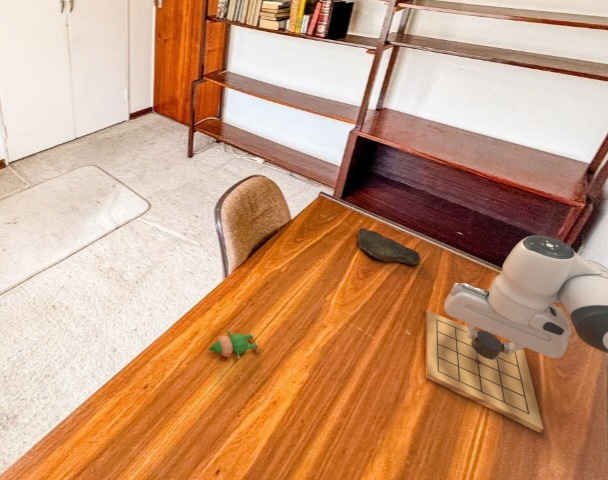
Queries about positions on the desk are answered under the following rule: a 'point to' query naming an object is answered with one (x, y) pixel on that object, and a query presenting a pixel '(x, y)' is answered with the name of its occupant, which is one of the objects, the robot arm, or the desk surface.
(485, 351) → the game stone
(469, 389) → the go board
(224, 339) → the figurine
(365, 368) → the desk surface
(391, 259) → the stone
